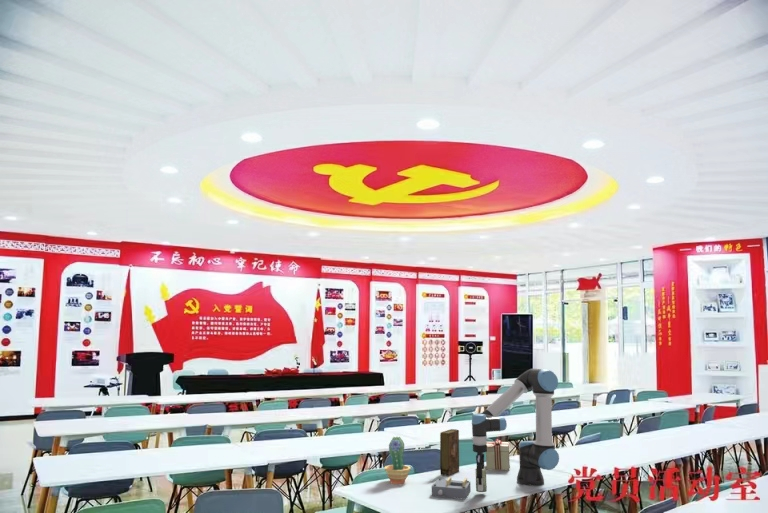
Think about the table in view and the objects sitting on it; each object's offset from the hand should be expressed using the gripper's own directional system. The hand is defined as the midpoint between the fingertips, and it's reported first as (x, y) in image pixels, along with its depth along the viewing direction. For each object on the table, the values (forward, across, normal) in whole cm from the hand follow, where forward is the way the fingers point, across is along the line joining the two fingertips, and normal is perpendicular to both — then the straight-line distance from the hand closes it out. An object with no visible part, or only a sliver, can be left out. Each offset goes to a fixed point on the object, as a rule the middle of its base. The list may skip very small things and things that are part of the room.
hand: (481, 489), depth 301 cm
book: (+3, -43, -24) cm, 49 cm away
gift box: (+4, -67, 0) cm, 67 cm away
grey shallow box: (+2, +5, -15) cm, 16 cm away
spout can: (+1, 0, 0) cm, 1 cm away
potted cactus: (+2, -12, -50) cm, 51 cm away
